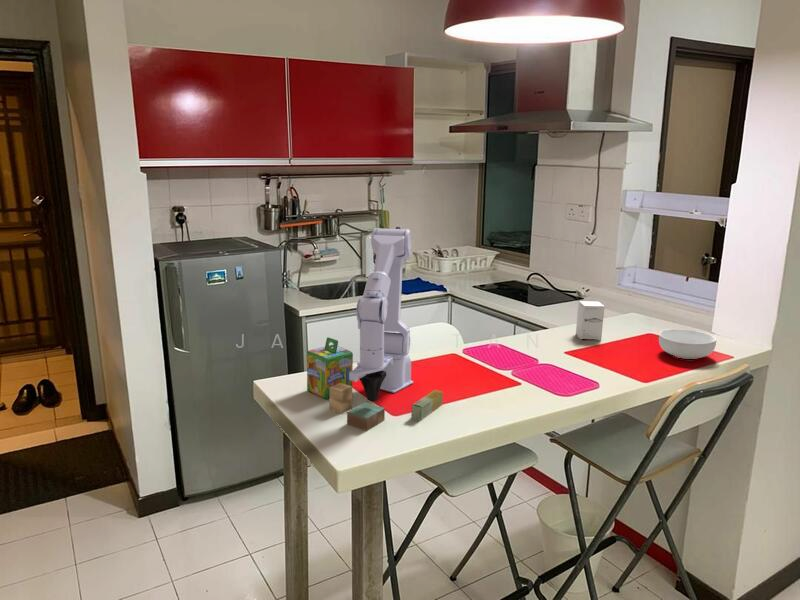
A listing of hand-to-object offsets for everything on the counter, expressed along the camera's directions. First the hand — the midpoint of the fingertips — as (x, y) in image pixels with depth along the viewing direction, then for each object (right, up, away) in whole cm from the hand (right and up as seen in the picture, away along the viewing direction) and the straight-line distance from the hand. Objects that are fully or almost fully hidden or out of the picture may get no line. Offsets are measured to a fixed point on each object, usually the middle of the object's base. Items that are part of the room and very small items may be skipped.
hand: (372, 400), depth 146 cm
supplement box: (+74, +11, +68) cm, 101 cm away
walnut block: (+1, -3, +2) cm, 4 cm away
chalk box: (-12, -1, +18) cm, 22 cm away
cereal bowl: (+99, +6, +49) cm, 111 cm away
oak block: (-8, -3, +7) cm, 11 cm away
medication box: (+14, -4, +6) cm, 15 cm away
